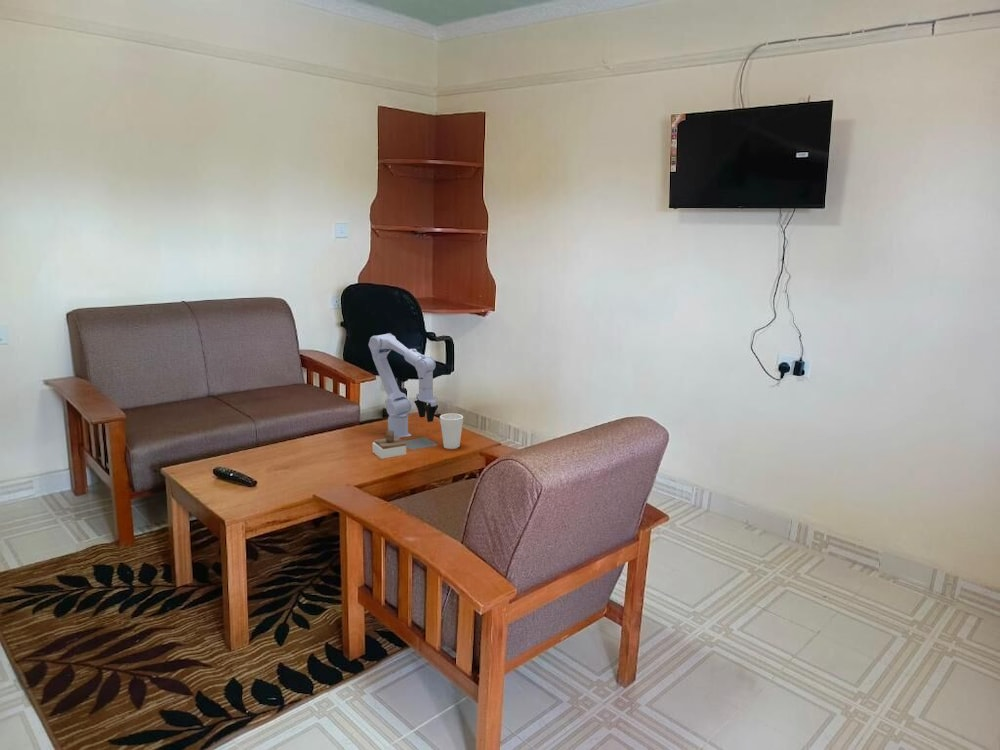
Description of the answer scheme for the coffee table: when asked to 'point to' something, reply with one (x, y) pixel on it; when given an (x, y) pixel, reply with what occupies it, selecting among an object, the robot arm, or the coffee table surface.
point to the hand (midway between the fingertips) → (426, 419)
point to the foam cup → (451, 430)
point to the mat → (419, 443)
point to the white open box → (388, 451)
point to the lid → (390, 441)
